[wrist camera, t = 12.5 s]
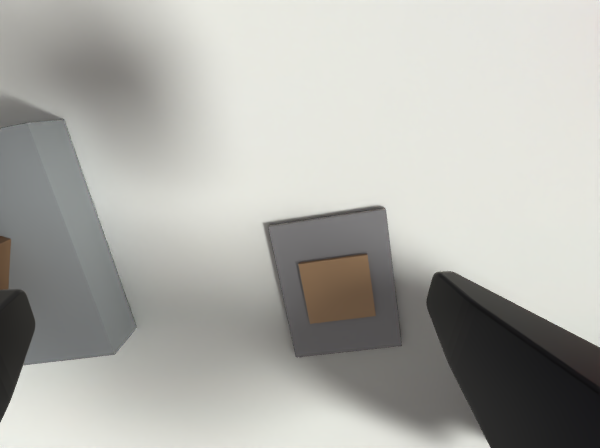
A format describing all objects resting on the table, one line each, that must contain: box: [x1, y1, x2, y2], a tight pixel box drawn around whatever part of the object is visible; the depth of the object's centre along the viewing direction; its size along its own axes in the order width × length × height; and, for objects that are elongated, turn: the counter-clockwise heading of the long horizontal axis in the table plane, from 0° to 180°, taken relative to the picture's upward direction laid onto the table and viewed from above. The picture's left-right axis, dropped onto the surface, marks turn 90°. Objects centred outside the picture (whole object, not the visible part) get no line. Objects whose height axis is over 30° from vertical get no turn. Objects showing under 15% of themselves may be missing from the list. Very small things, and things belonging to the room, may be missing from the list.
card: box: [268, 208, 402, 357], centre depth 21 cm, size 8×6×1 cm
